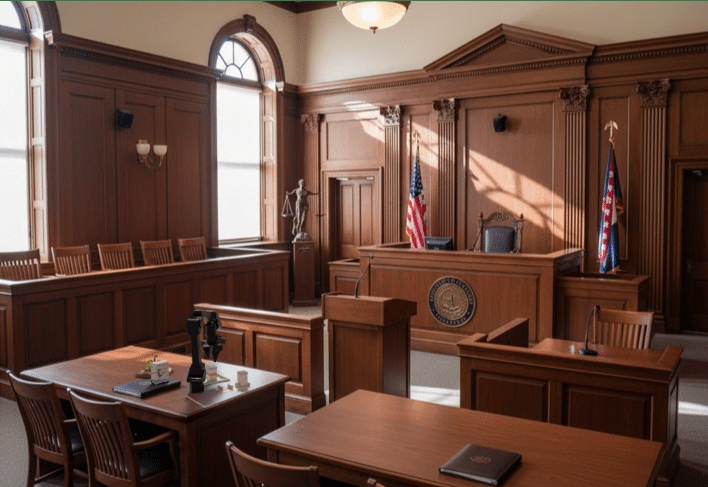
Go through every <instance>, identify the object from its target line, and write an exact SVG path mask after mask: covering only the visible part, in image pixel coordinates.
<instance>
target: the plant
mask: <svg viewBox="0 0 708 487" xmlns="http://www.w3.org/2000/svg"><path fill="white" fill-rule="evenodd" d="M158 357H159V355H158V354H155V355H154V356H153V360H152V359H149V360H147V362H146V364H147V365H146V364H145V366H146V367H143V368H142V369H139V370H137V371H136V372H135V378H142V379H147V378H146V377H151V363H152V362H156V358H158ZM160 360H161V359H157V361H160ZM150 362H151V363H150ZM174 370H175V368H173V367H171V366H169V376H171V375H172V374H174V372H175V371H174Z"/></svg>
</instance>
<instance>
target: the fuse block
mask: <svg viewBox="0 0 708 487" xmlns="http://www.w3.org/2000/svg"><path fill="white" fill-rule="evenodd" d="M249 388H253V386H252V385H251V382H249V381H248V387H243V388H241V384H239V383H238V382H237V381H236V382H234V385H232V384H230V383H227V386H221V385H217V388H215V390H216V391H218V392H220V393H222V394H223V393H228V392H233V391H240V390H243V389H249Z"/></svg>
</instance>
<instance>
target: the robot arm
mask: <svg viewBox="0 0 708 487" xmlns="http://www.w3.org/2000/svg"><path fill="white" fill-rule="evenodd" d="M205 322H206V323H205ZM204 325H205V334H204V337H205V339H203V340H201V336H200V335H201V333H202V331H203V327H204ZM184 327H185V330H186V331H185V332H186V333H187V334H188V335H189V339H190V340H189V341H190V352H191V353H190V354H191V364H190V366H189V370H188V373H187V377H186V383H187V384H188V383H189V393H190V394H201V393H202V392H205V385H204V384H203V382H205V381H206V375H207V368H206V363H205V362H203V361H202V353H201V352H202V351H203V354H204V355H205V358H206V359H207V360H210V356H211V358H212V361H213V363H217V360H218V357H219V354H220V353H221V352H223V350H224V346H225V345H226V343H227V338H225V337H223V336H222V335H220V334H217V331H218V330H220V329H221V328H222V327H223V323H222V321H221V318H220V314H219V312H218V310H208V309H206V310H204V309H194V310H193V311H192V313H191V314H189V315H188V317H187V318H186V320H185V323H184ZM194 378H201V379H194ZM205 383H206V382H205Z"/></svg>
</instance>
